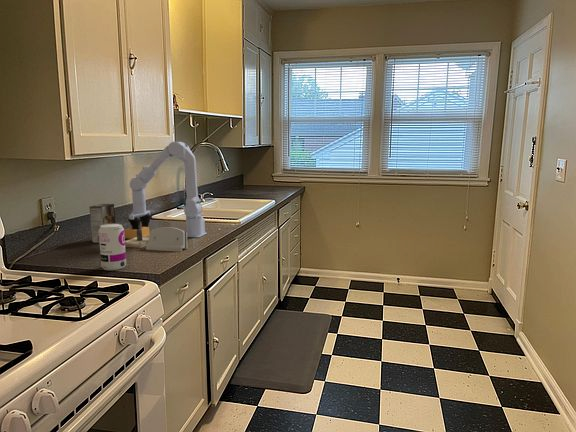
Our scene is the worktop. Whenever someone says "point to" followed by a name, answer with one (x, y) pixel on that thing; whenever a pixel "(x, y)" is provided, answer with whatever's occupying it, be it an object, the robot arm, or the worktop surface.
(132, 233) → the orange square frame
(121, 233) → the supplement can
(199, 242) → the worktop surface
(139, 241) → the keeper board
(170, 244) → the grey napkin holder
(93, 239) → the coffee box
